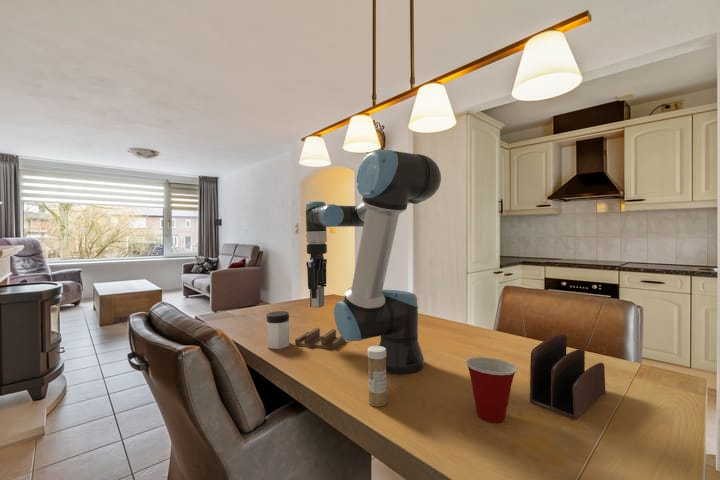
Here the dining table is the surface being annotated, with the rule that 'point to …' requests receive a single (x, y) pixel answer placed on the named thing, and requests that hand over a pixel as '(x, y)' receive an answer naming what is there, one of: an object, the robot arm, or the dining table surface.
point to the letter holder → (564, 379)
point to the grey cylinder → (321, 296)
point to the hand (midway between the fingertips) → (318, 305)
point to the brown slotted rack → (320, 339)
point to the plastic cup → (491, 386)
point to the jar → (277, 330)
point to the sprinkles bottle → (377, 375)
